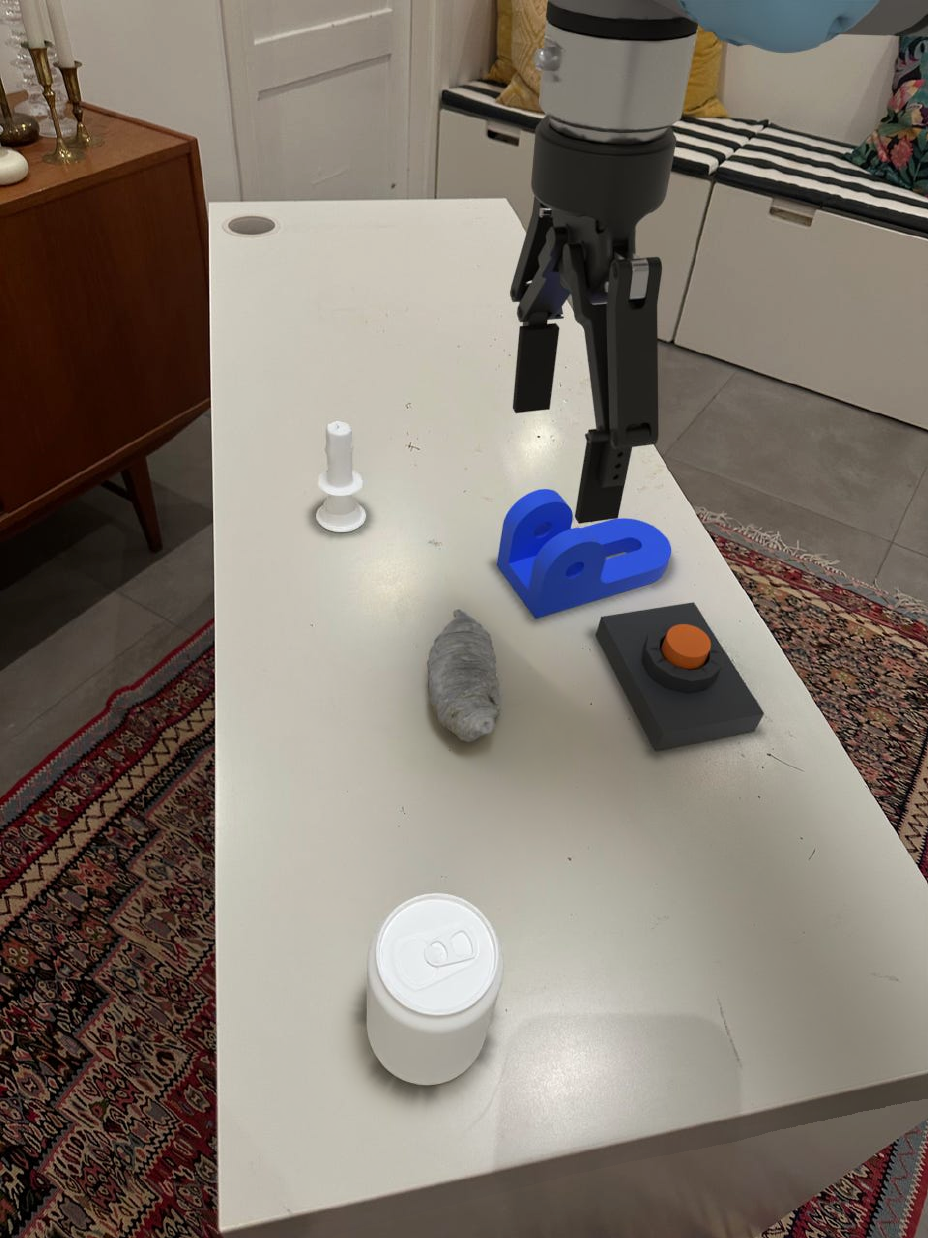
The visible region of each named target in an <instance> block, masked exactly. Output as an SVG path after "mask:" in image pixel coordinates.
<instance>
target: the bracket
mask: <svg viewBox="0 0 928 1238" xmlns="http://www.w3.org/2000/svg"><path fill="white" fill-rule="evenodd" d="M573 520H574V514H573V510H572V508H571V506H569V504H568V503H567V502H566V501H565V500H564V498H563V497H562V496H561V494H559V493H558V491H556V490H554V489H550V488H542V489H537V490H536V489H535V490H534V491H533V490H532V491H531V492H529V493H527V494H525V495H523V496H522V497H521V498H519V499H518V500H517V501H516V502H514V504H513V505H512V506H511V507H510V508H509V510H508V511H507V513H506V515H505V517H504V519H503V522H502V527H501V534H500V541H499V546H498V553H497V559H496V566H497V568H498V569H499V571H500V572H501V573H502V575H503V576H504V578H505V579H506V581H507V582H508V583H509V585H510V586H511V588H512V589H513V590H514V592H515V593H516V594H517V596H518V597H519V599H520V600H521V601H522V603H523V604H524V605H525V607H526V608H527V610H528V611H529V612H530V614H531V615H532V617H533V618H534V619H535V620H537V619H540V618H543V617H547V616H550V615H553V614H557V613H561V612H563V611H566V610H569V609H572V608H576V607H579V606H583V605H585V604H589V603H592V602H596V601H598V600H602V599H605V598H609V597H612V596H615V595H619V594H620V593H625V592H627V591H631V590H633V589H637V588H640V587H643V586H647V585H651V584H652V583H655V582H657V581H658V580H660V579H661V578H662V577H663V576H664V574H665V572H666V570H667V567H668V564H669V561H670V558H671V555H672V545H671V543H670V541H669V539H668V538H667V536H666V535H665V534H664V533H663V532H662V531H661V530H660V529H658V527H655V526H654V525H652V524H649V523H647V522H646V521H642V520H639V519H635V518H627V517H625V518H623V517H622V518H620V517H619V518H617V519H609V520H604V521H602V522H598V523H595V524H591V525H586V526H584V527H574V528H572V525H573ZM622 553H623V554H622ZM619 554H620V555H619ZM614 555H615V556H614ZM611 556H613V557H611ZM607 557H609V558H607Z"/></svg>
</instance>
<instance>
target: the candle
mask: <svg viewBox="0 0 928 1238" xmlns="http://www.w3.org/2000/svg"><path fill="white" fill-rule="evenodd" d="M352 431H353V430H352V427H351V426H350V424H349V423H347V422H344V421H340V420H334V421H333V422H331V423H327V425H326V427H325V446H324V452H325V454H326V467H327V470H325V471H323V472H322V473H321V474H319V476H318V477H317V486H318V488H319V489H320V490H321V491H322V493H325V494H328V495H329V496H328V497H327V498H326V499H324V501H323V503H322V505H321V506H320V507H318V509H317V511H316V514H315V519H316V521H317V523H318V524H319V525H320V526H321V527H322V528H323V529H326V530H327V531H330V532H334V533H349V532H352V531H355V530H357V529H359V528H360V527H362V526H363V524H364V523H365V522H366V519H367V513H366V510H365V509H364V507H363V506H362V505H360V504H359V502H358V501H357V499H356V498H354V497H353V496H352V495H354V494H356V493H358V492H359V491H360V490H361V489H362V487H363V485H364V479H363V477H362V476H361V475H360V473H358V471H355V470H354V469H353V451H354V443H353V432H352Z"/></svg>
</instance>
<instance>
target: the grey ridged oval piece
mask: <svg viewBox="0 0 928 1238" xmlns="http://www.w3.org/2000/svg"><path fill="white" fill-rule="evenodd" d="M496 663H497V656H496V654H495V651H494V646H493V640H492V637H491V634H490V633H489V631H487V629H485V628H484V627H483V625H482V624H481V623H480V622H479V621H477V620H476V619H474V618H473V617H471V616H469V615H468V614H467V612H465V611H463V610H461V609H459V608H457V609H455V610H453V618H452V619H451V620H450V621H449V622H448V623H447V624H446V625H445V626H444V628H443V629H442V631H441V632H440V633H439V634H438V635H437V636H436V637H435V638H434V641H433V645H432V646H431V647H430V650H429V653H428V659H427V661H426V667H427V673H428V676H429V677H428V681H427V682H428V683H427V684H428V685H427V687H428V690H429V692H428V697H429V698H428V702H429V703H430V704H431V705H432V707H433V710H434V711H435V713H436V715H437V719H438V722H439V723H440V725H442V726H443V727H444V728H446V729H448V730H449V731H450V732H452V733H453V734H454V735H455V736H457V737H458V739H460V740H461V741H463V742H466V743H469V742H470V743H472V742H474V741H475V740H478V739H479V738H481V737H483V736H486V735H488V734H491V733H493V732H494V730H495V727H496V726H495V718H496V717H497V716H498V715H499V713H500V711H501V706H502V705H501V703H502V701H501V700H502V698H501V694H500V689H499V687H500V683H499V678H498V676H497V673H498V671H497V666H496V665H497V664H496Z"/></svg>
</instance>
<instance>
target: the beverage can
mask: <svg viewBox="0 0 928 1238" xmlns="http://www.w3.org/2000/svg"><path fill="white" fill-rule="evenodd" d="M504 975H505V958H504V951H503V946H502V943H501V940H500V938H499V935H498V933H497V931H496V930H495V928H494V926H493V925H492V923H491V922H490V921H489V920H488V918H487V917H486V915H484V913H483V912H481V910H480V909H479V908H478V907H476V906H475V905H474V904H472V903H471V902H469V901H467V900H466V899H464V898H461V897H460V896H457V895H453V894H449V893H442V892H430V893H424V894H419V895H417V896H413V897H411V898H409V899H407V900H406V901H404V902H402V903H401V904H399V905H398V906H397V907H395V908H394V909H392V910H391V911H390V912H389V913H388V914H387V915H386V916H385V917H384V918H383V919H382V921H381V922H380V923H379V925H378V926H377V927H376V929H375V931H374V933H373V936H372V938H371V941H370V943H369V946H368V951H367V959H366V1031H367V1036H368V1037H367V1038H368V1041H369V1044H370V1046H371V1049H372V1052H373V1053H374V1055H375V1056H376V1059H378V1061H379V1062H380V1064H381V1065H382V1066H383V1067H384V1068H385V1069H386V1070H387V1071H388V1072H390V1073H391V1074H392V1075H394V1076H395V1077H396V1078H398V1079H399V1080H402V1081H404V1082H407V1083H410V1084H414V1085H418V1086H434V1085H439V1084H443V1083H447V1082H449V1081H452V1080H454V1079H456V1078H457V1077H459V1076H461V1075H463V1073H464V1072H465V1071H467V1070H468V1069H469V1068H470V1067H471V1066H472V1065H473V1063H474V1062H475V1061H476V1059H477V1058H478V1057H479V1055H480V1053H481V1051H482V1048H483V1046H484V1044H485V1042H486V1041H485V1040H486V1038H487V1034H488V1032H489V1028H490V1025H491V1021H492V1018H493V1015H494V1011H495V1007H496V1004H497V1002H498V998H499V995H500V991H501V988H502V984H503V979H504Z"/></svg>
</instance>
